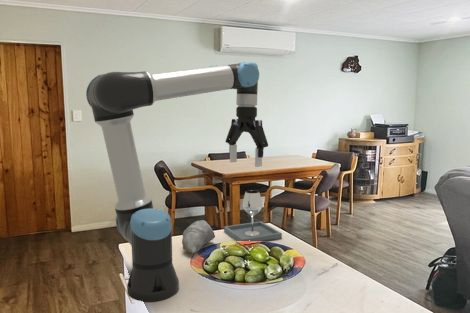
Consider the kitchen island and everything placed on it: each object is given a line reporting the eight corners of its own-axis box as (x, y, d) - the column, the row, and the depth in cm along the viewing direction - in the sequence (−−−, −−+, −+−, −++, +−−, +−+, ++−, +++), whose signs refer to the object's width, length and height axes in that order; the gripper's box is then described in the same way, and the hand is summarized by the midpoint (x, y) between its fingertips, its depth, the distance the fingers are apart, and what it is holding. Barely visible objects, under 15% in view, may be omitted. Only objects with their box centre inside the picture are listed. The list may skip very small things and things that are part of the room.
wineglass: (247, 229, 171) (247, 189, 168) (265, 232, 167) (265, 190, 165) (239, 235, 163) (239, 192, 161) (257, 238, 160) (257, 194, 157)
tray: (242, 245, 154) (242, 239, 153) (224, 232, 170) (224, 226, 170) (281, 239, 161) (281, 233, 161) (260, 226, 177) (260, 221, 177)
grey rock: (192, 259, 140) (191, 232, 139) (170, 248, 151) (169, 223, 150) (226, 248, 151) (226, 223, 150) (203, 238, 162) (202, 215, 161)
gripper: (279, 106, 136) (277, 167, 138) (231, 106, 154) (230, 159, 157) (264, 106, 131) (262, 169, 133) (217, 105, 149) (216, 161, 152)
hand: (245, 164), depth 145 cm, fingers open, 13 cm apart
